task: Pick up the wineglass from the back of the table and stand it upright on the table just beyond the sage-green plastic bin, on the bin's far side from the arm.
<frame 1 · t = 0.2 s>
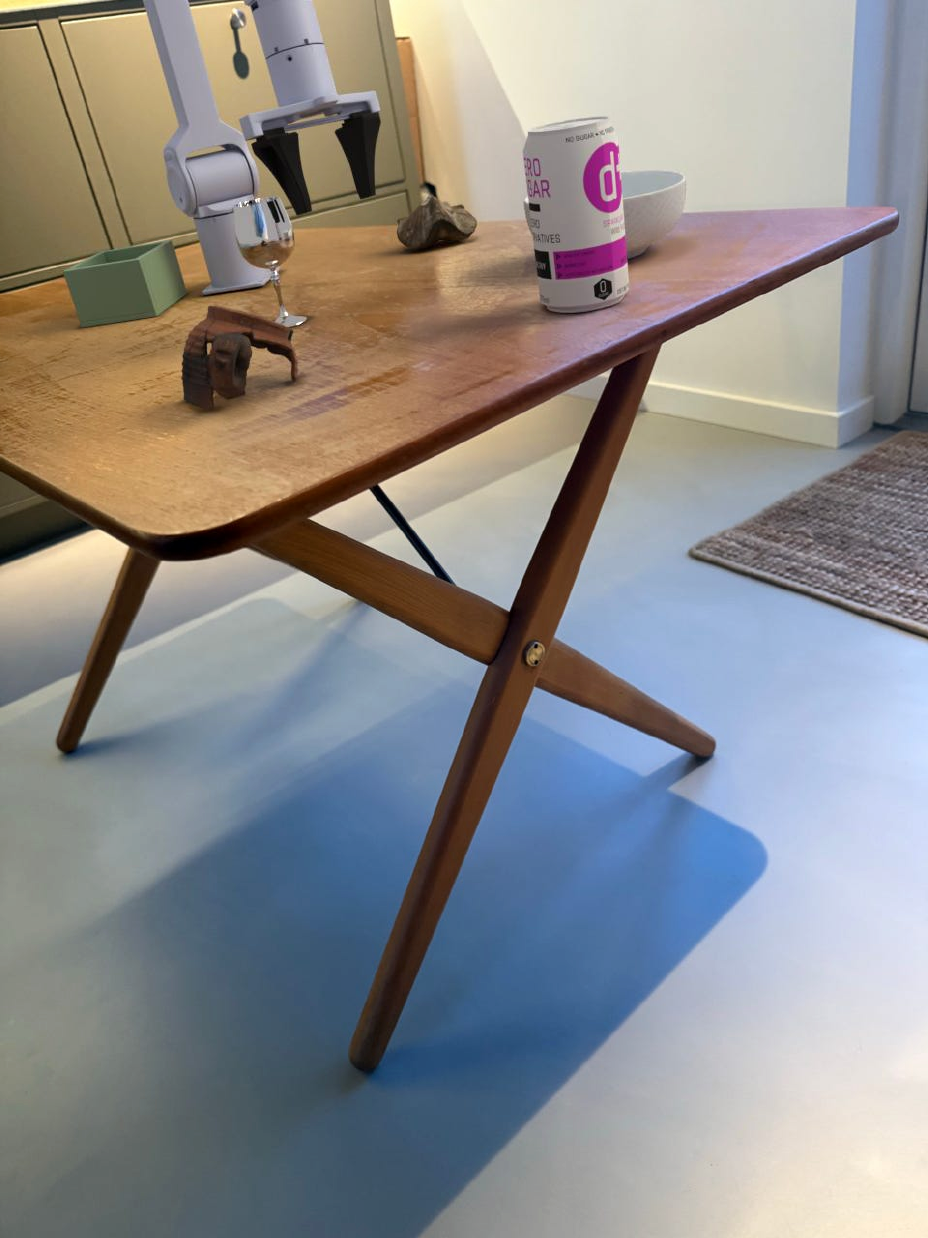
hand: (336, 205, 100), 10 cm above the table, tool pointing down, fingers open, 7 cm apart
reddish-brown arched part: (244, 397, 85), on the table
fossilized seashell: (438, 246, 131), on the table
wineglass: (286, 324, 105), on the table
supplement can: (585, 304, 93), on the table
bin: (136, 309, 125), on the table
cereal bowl: (608, 257, 109), on the table
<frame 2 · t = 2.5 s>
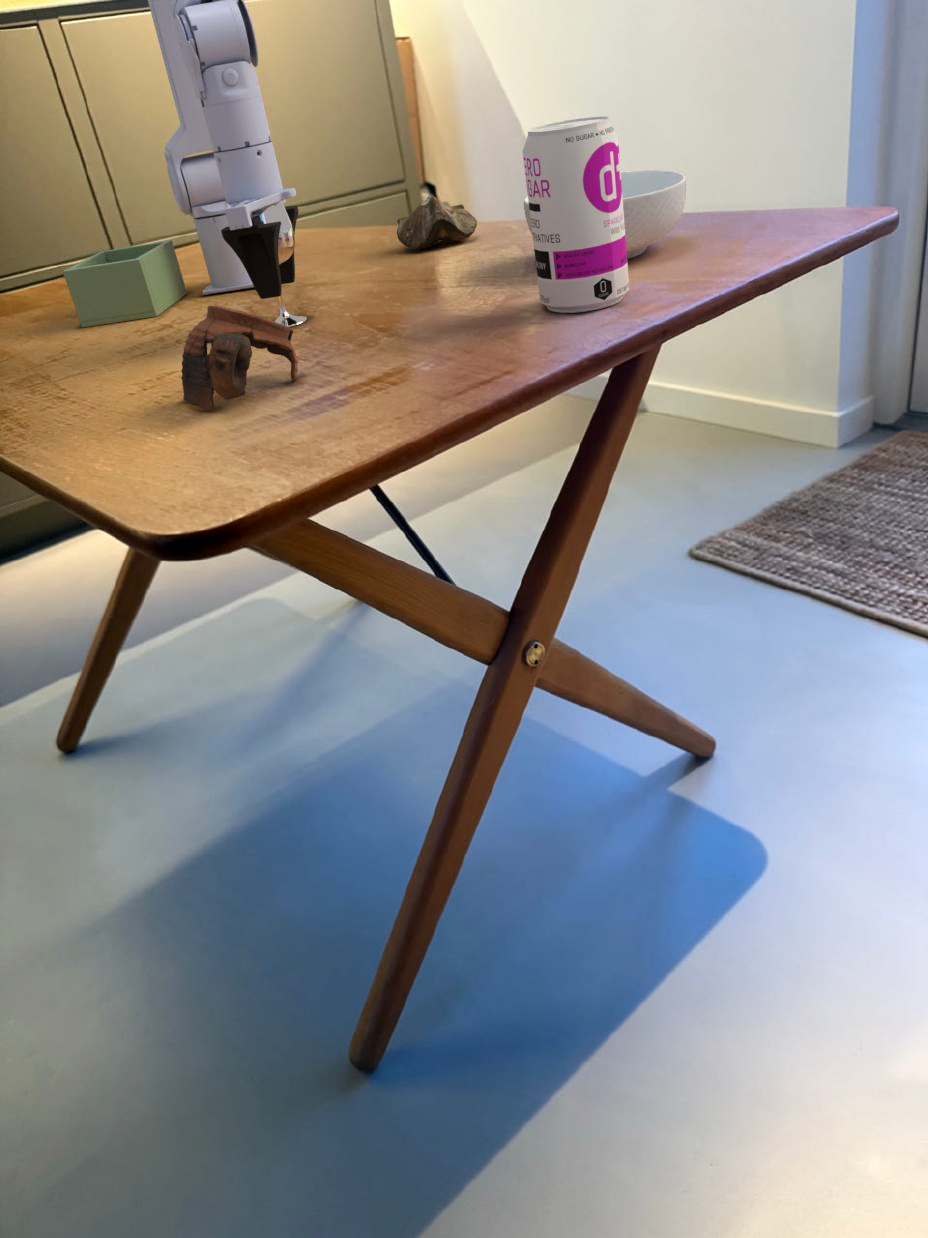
hand: (278, 290, 104), 3 cm above the table, tool pointing down, fingers closed on wineglass, 5 cm apart
wineglass: (286, 324, 105), on the table, touching gripper
everything else where it was.
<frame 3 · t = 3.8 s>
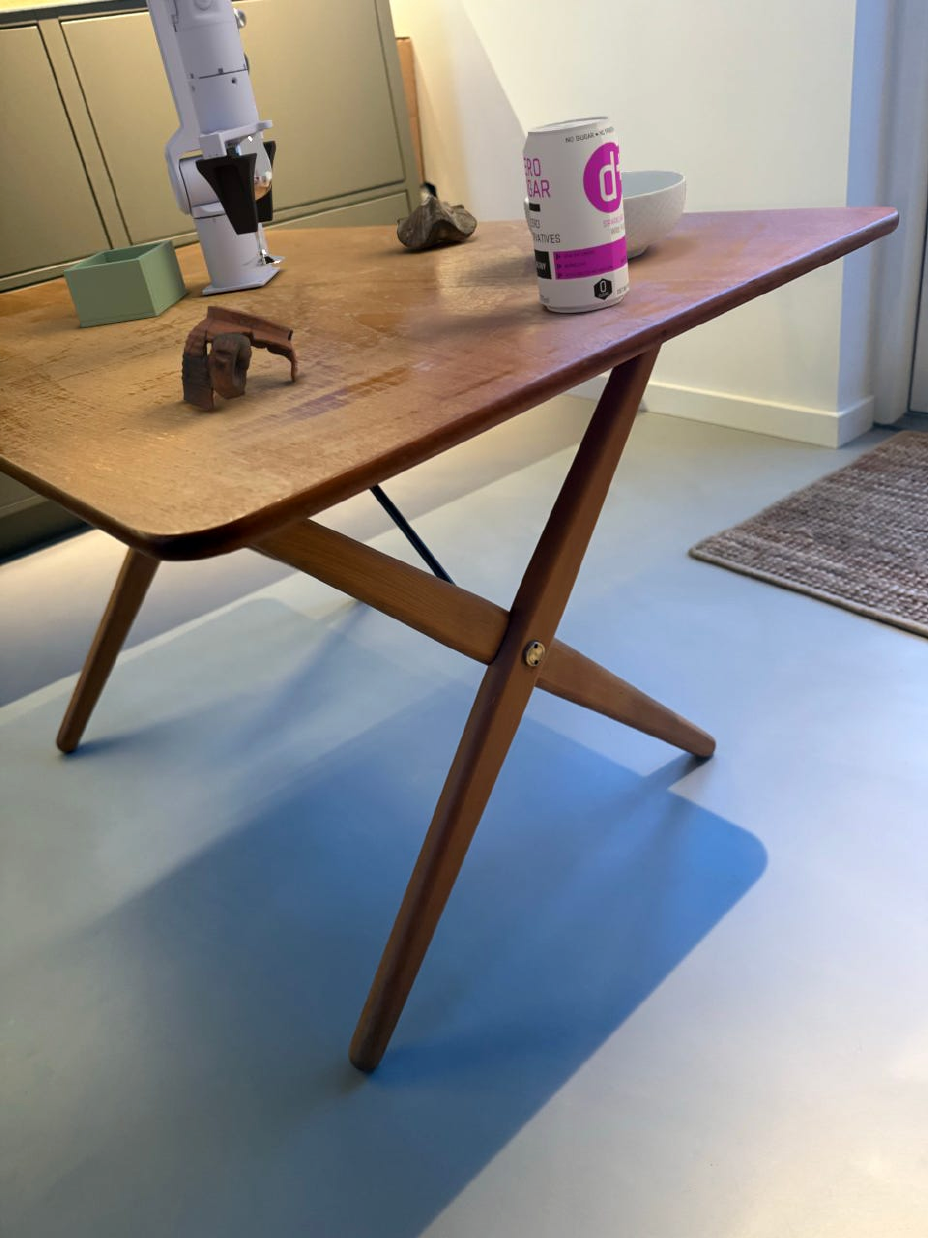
hand: (255, 227, 101), 10 cm above the table, tool pointing down, fingers closed on wineglass, 5 cm apart
wineglass: (264, 264, 103), point 6 cm above the table, touching gripper
everything else where it was.
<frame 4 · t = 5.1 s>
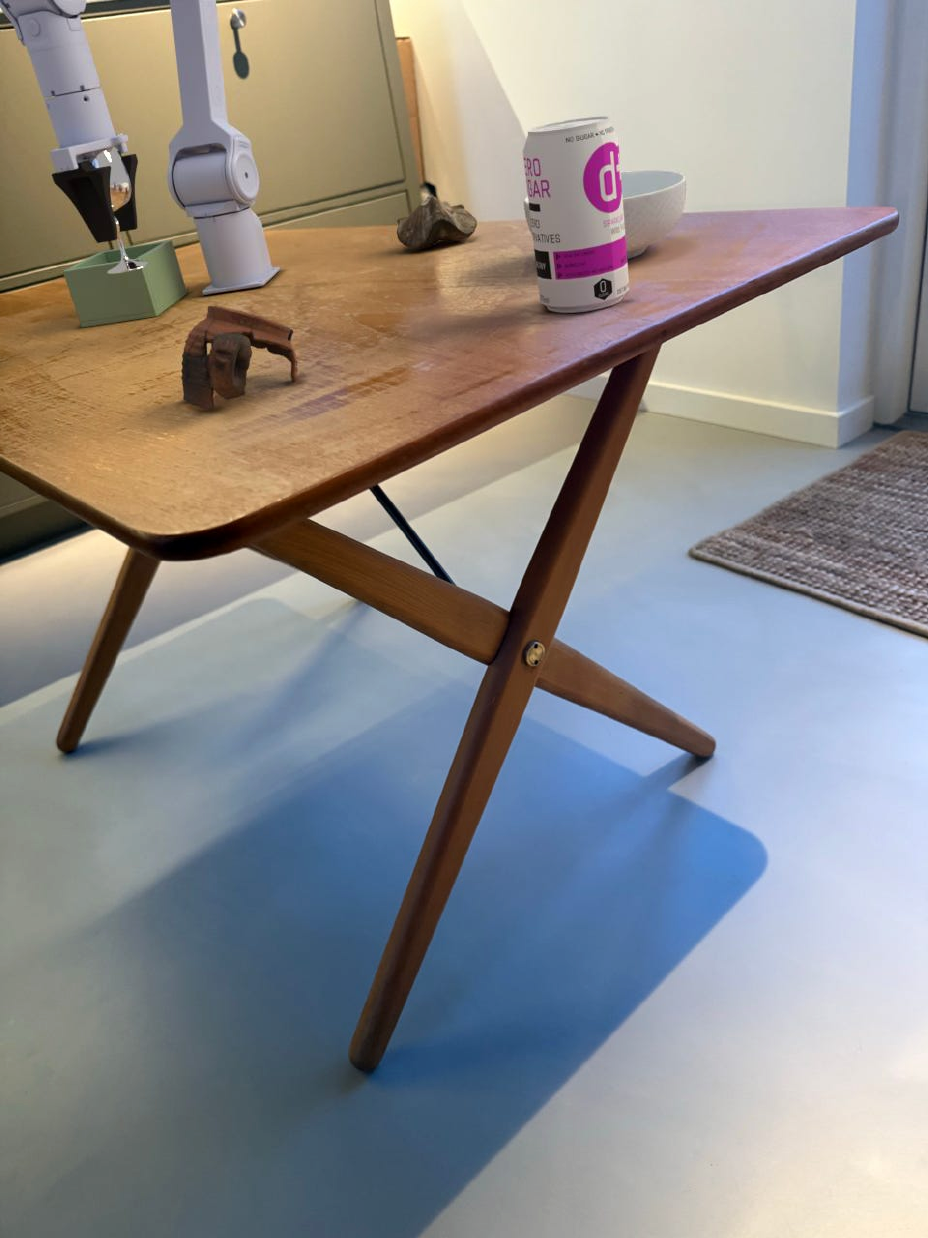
hand: (117, 235, 107), 10 cm above the table, tool pointing down, fingers closed on wineglass, 5 cm apart
wineglass: (128, 270, 109), point 7 cm above the table, touching gripper
everything else where it was.
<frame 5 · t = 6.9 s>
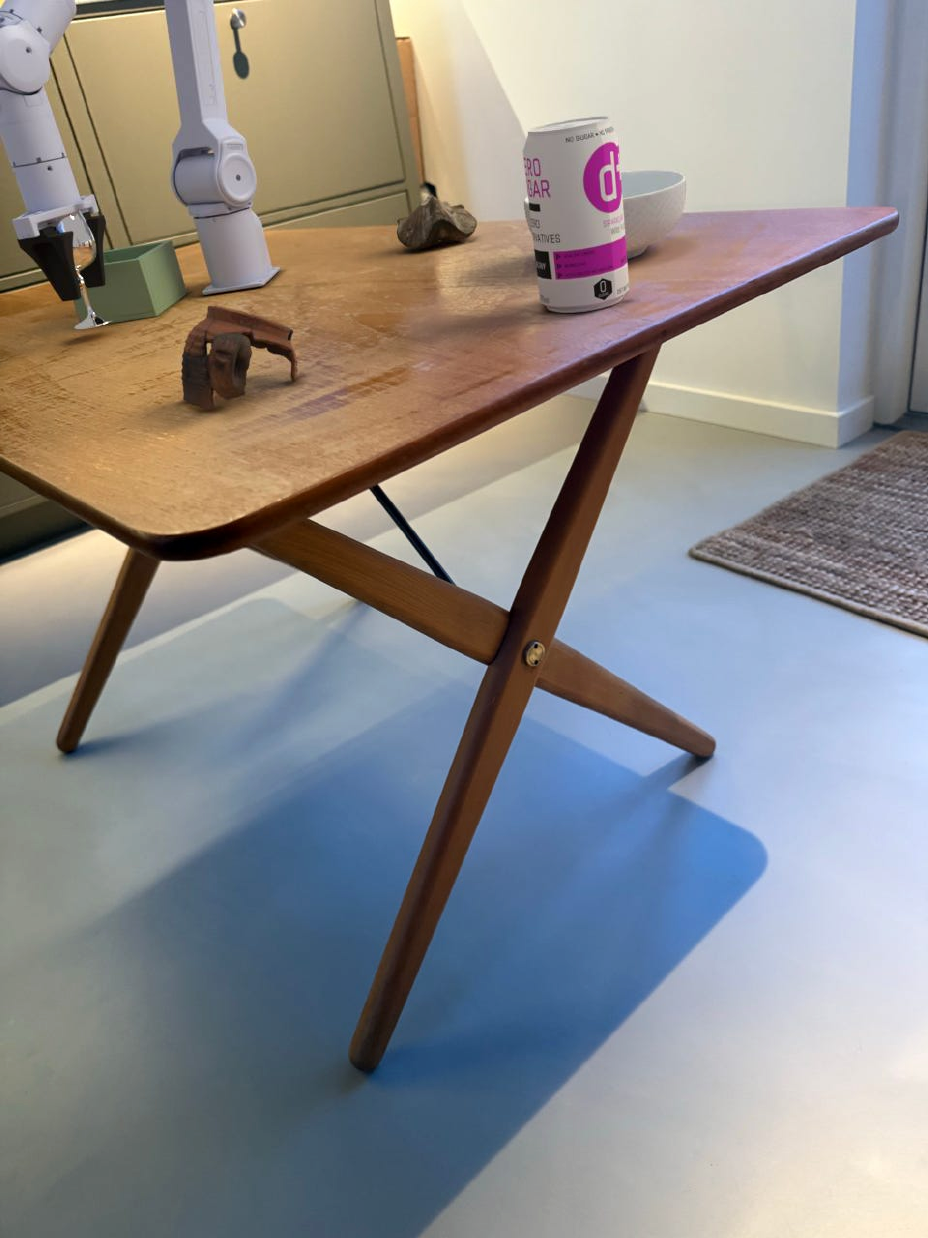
hand: (84, 293, 112), 5 cm above the table, tool pointing down, fingers closed on wineglass, 5 cm apart
wineglass: (95, 325, 114), point 1 cm above the table, touching gripper
everything else where it was.
when the fingers open (3 cm above the table, at t = 7.9 s): wineglass stays where it is, on the table.
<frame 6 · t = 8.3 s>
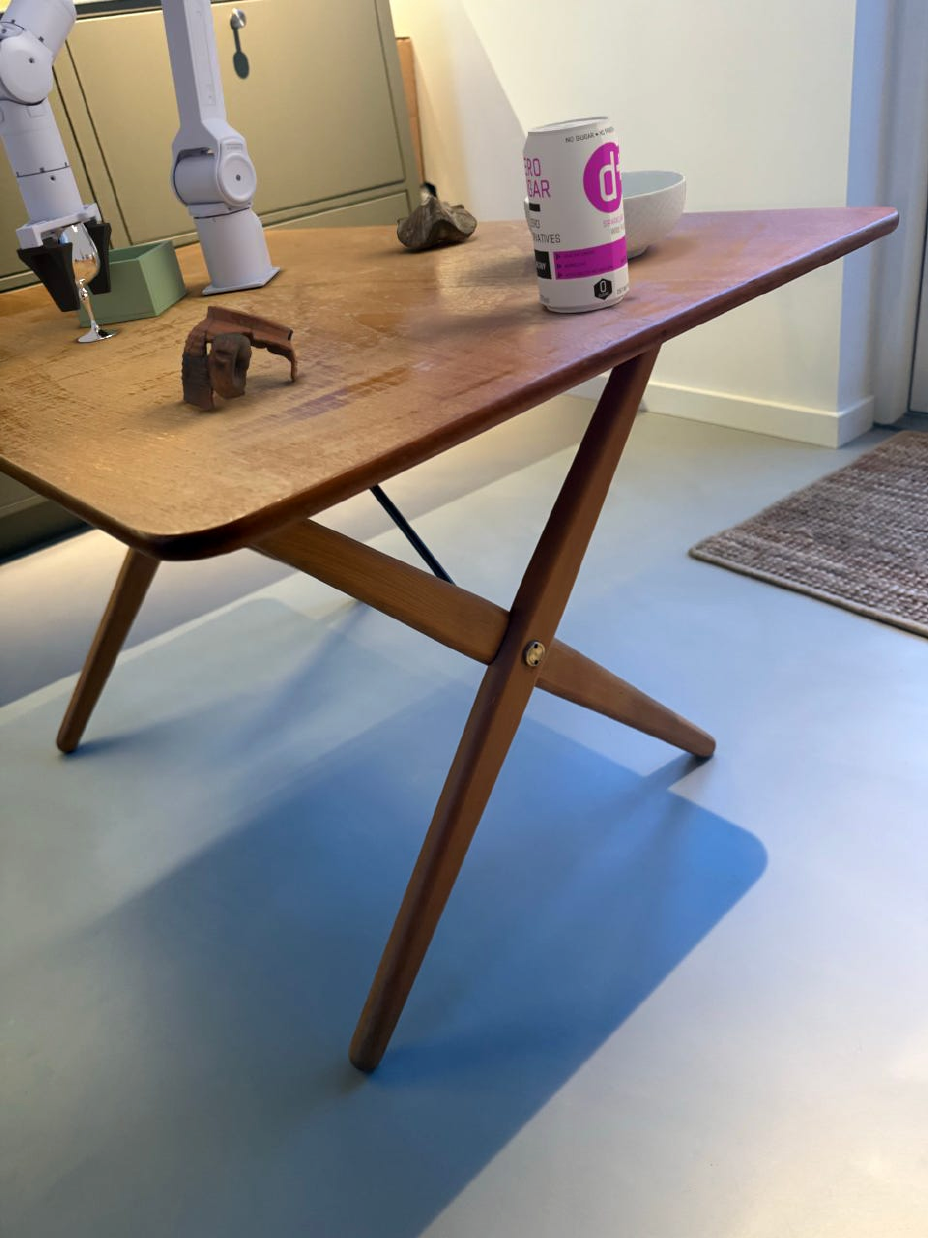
hand: (87, 301, 113), 4 cm above the table, tool pointing down, fingers open, 7 cm apart
wineglass: (98, 337, 115), on the table
everything else where it was.
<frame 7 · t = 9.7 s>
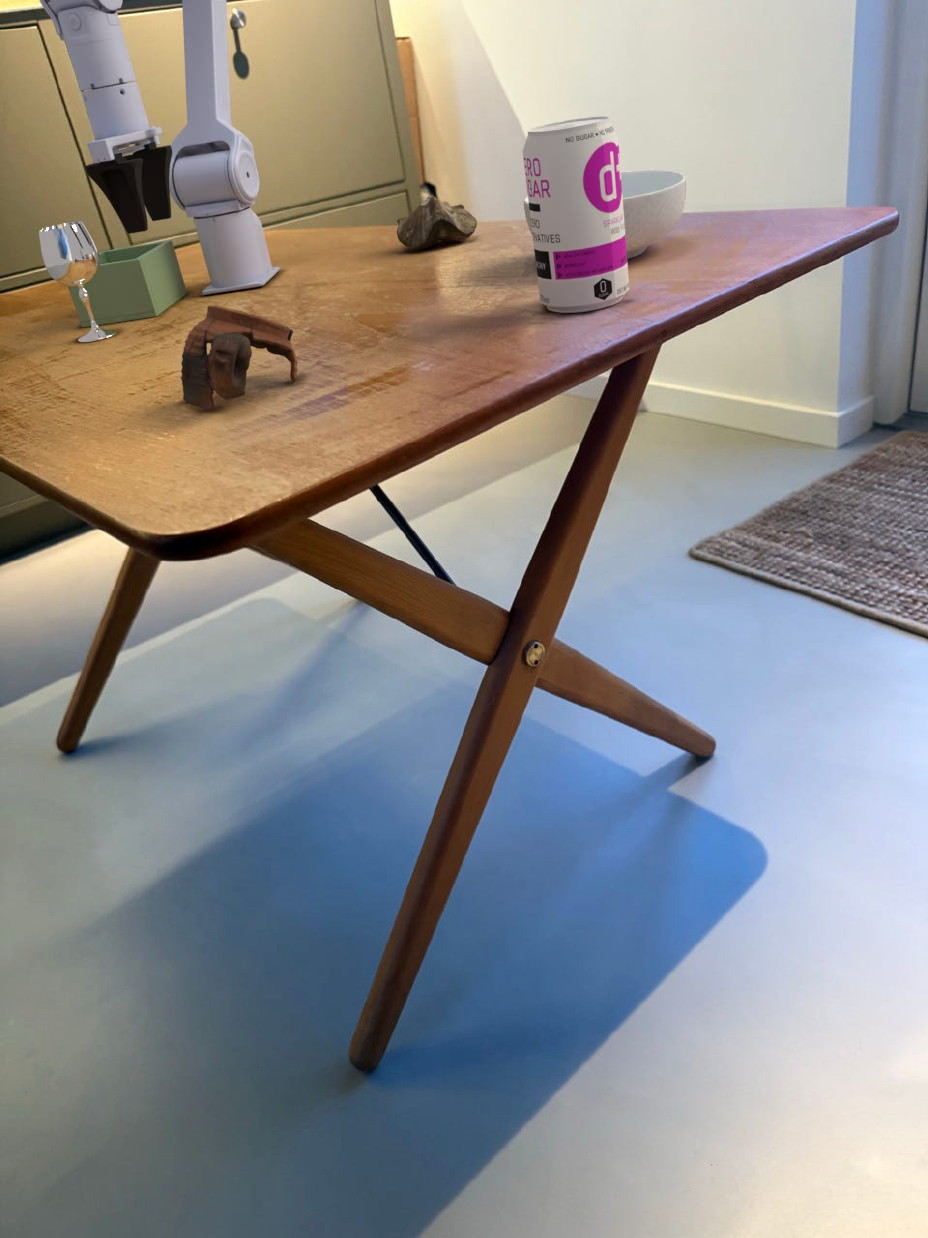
hand: (150, 225, 110), 10 cm above the table, tool pointing down, fingers open, 7 cm apart
nothing on the table moved.
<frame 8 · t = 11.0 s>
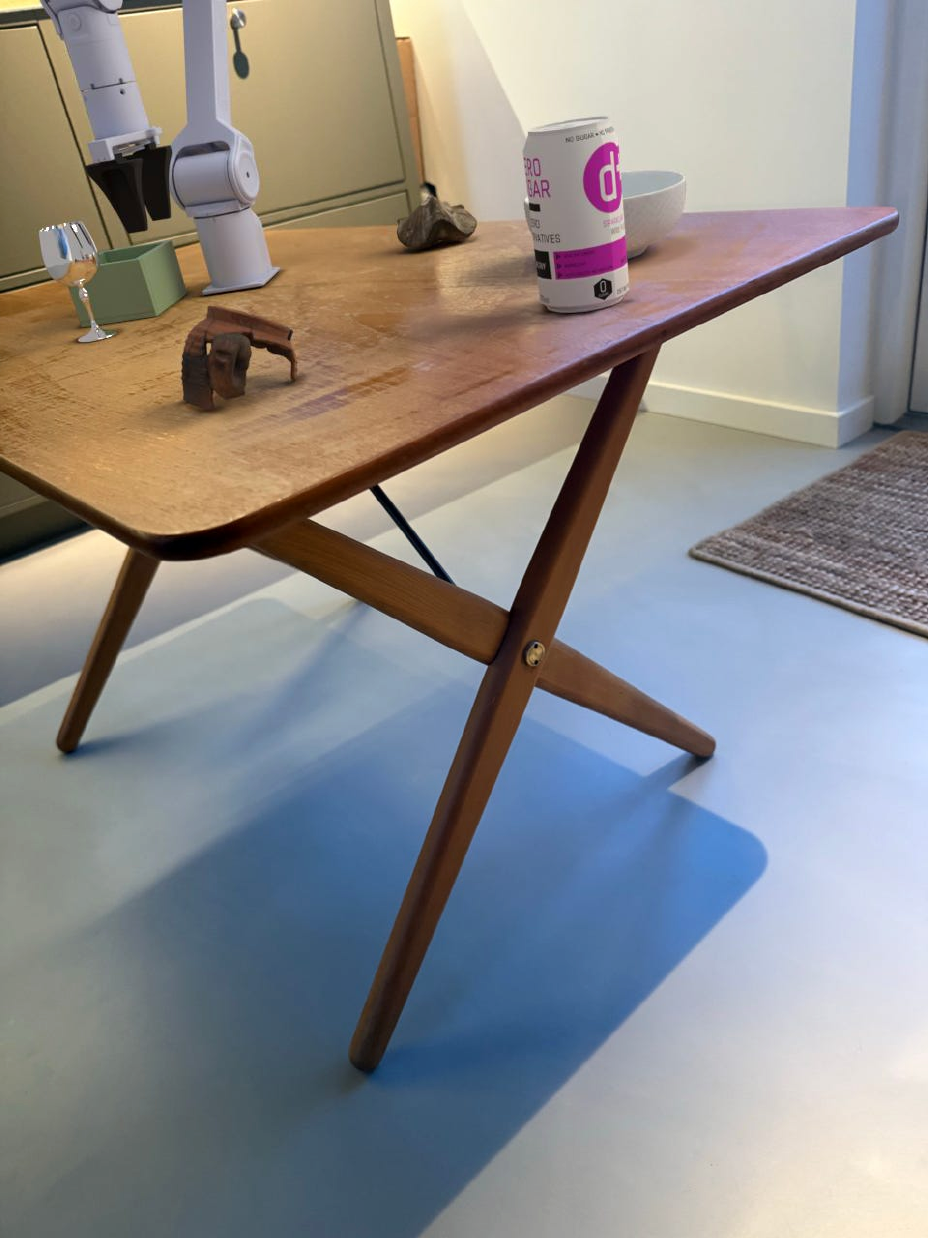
hand: (150, 225, 110), 10 cm above the table, tool pointing down, fingers open, 7 cm apart
nothing on the table moved.
at the end: wineglass inside the target area on the table beside the bin (0.6 cm from its centre), on the table; wineglass tilted 0° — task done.
